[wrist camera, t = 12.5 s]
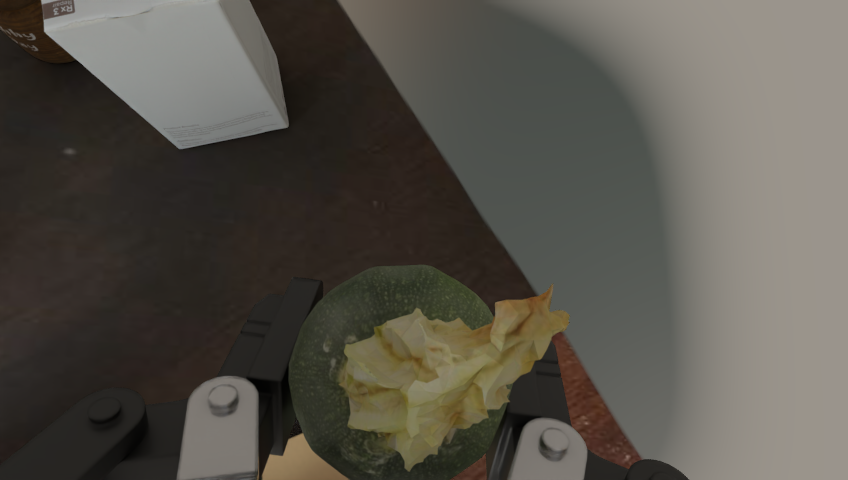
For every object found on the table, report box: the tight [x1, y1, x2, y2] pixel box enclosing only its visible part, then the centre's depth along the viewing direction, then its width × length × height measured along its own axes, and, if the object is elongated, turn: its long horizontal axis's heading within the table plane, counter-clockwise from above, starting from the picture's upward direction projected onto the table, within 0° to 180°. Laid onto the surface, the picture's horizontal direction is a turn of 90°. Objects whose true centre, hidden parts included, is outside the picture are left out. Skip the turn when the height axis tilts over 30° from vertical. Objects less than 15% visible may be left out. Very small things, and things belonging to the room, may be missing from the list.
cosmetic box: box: [41, 0, 289, 149], centre depth 33 cm, size 8×6×15 cm
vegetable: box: [288, 265, 570, 480], centre depth 15 cm, size 4×4×20 cm
